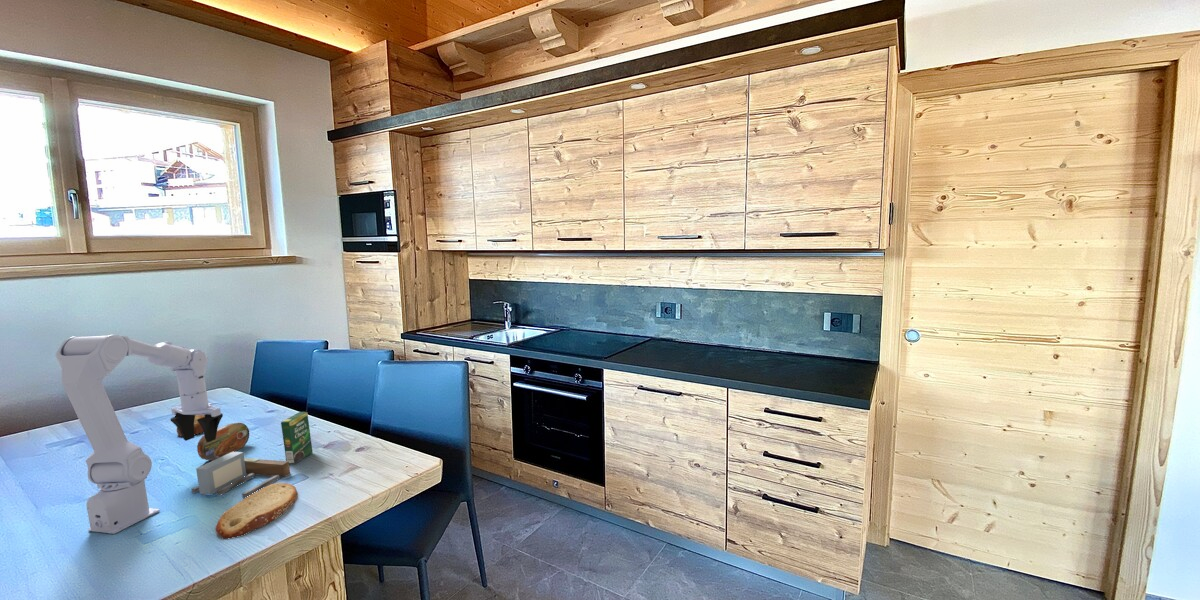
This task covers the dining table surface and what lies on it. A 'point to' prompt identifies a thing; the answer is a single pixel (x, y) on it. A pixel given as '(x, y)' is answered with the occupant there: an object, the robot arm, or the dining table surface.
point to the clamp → (260, 468)
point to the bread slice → (256, 510)
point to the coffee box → (296, 437)
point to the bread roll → (195, 425)
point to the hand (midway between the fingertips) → (200, 439)
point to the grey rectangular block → (221, 472)
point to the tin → (224, 441)
